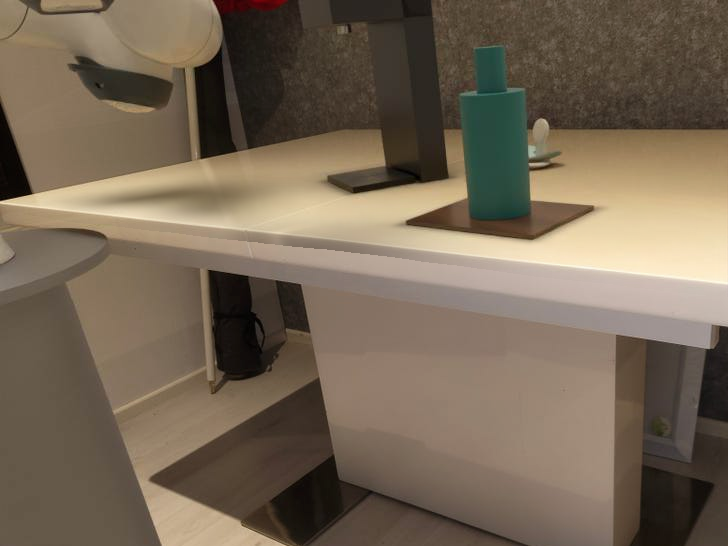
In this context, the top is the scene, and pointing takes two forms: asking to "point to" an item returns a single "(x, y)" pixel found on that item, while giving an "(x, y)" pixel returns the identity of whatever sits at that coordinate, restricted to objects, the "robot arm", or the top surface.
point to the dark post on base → (394, 86)
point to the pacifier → (541, 146)
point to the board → (526, 226)
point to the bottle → (495, 141)
